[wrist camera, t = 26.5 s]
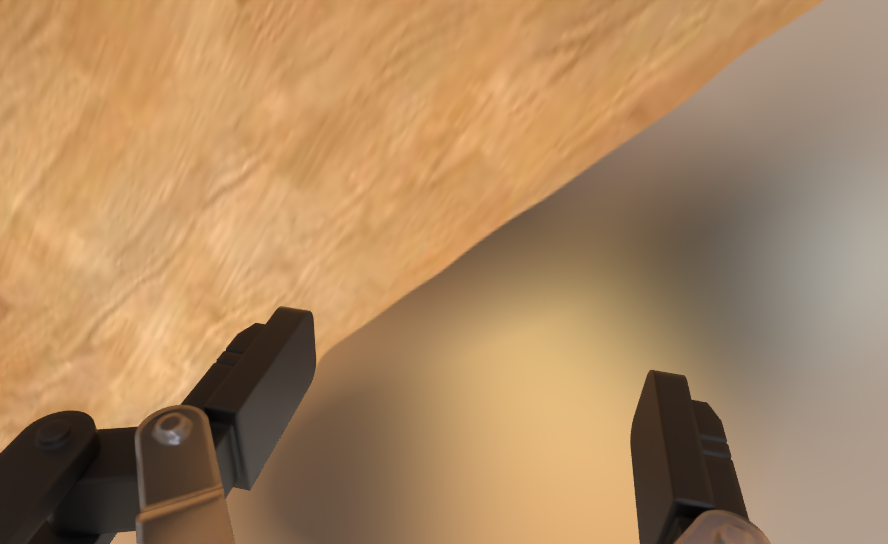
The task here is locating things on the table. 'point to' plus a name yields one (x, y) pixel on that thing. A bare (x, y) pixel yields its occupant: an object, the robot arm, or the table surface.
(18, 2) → the table surface
